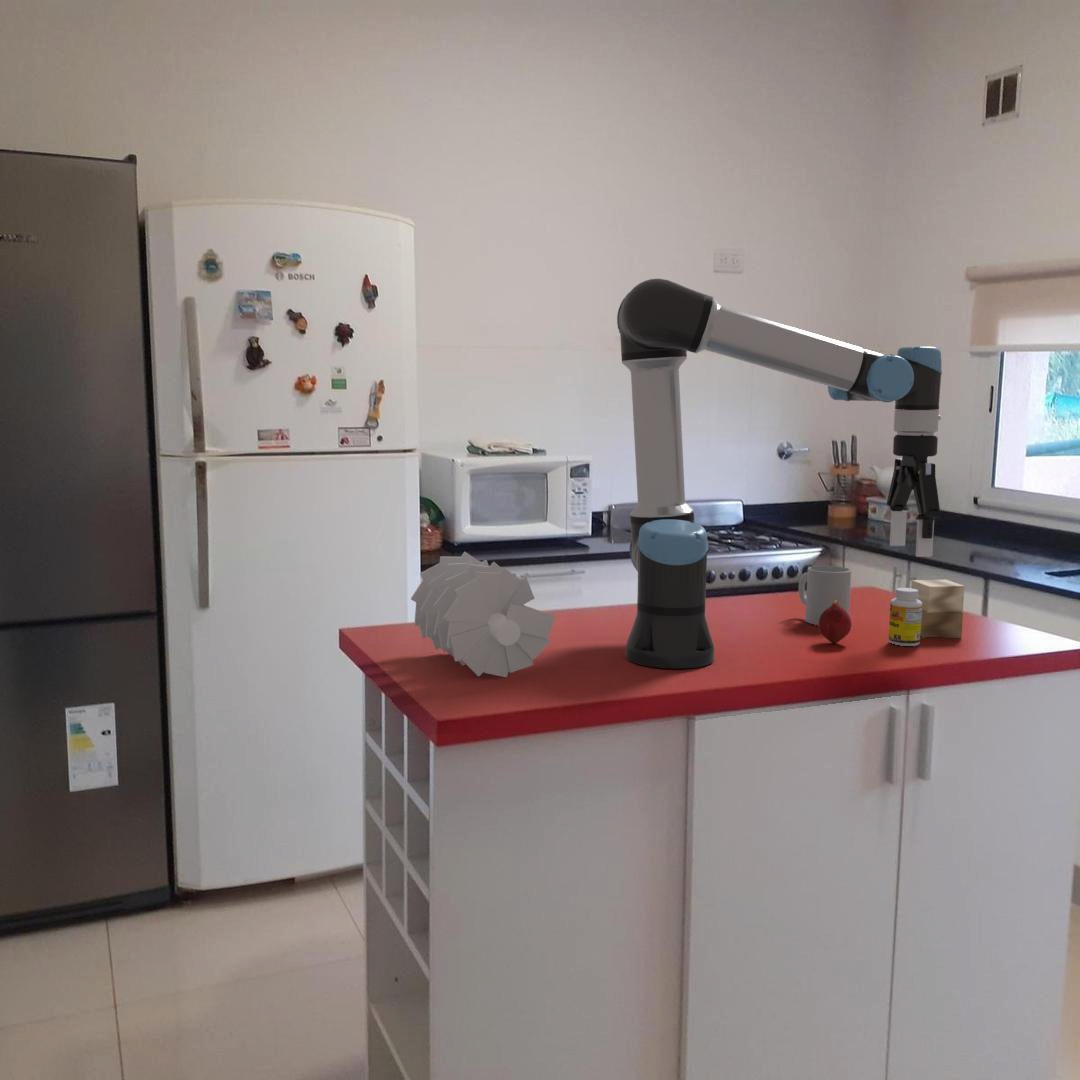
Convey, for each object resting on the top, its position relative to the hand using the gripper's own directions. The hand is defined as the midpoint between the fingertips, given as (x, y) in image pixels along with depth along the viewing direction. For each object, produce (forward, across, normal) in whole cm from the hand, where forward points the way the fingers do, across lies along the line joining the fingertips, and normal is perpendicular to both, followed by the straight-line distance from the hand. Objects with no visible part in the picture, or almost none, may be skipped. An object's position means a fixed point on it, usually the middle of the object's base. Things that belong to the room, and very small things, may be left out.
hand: (910, 551), depth 200 cm
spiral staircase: (+17, -16, +78) cm, 82 cm away
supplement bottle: (+18, 0, 0) cm, 18 cm away
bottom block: (+18, +9, -9) cm, 22 cm away
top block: (+13, +9, -9) cm, 18 cm away
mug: (+18, +20, +10) cm, 29 cm away
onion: (+17, 0, +13) cm, 22 cm away
